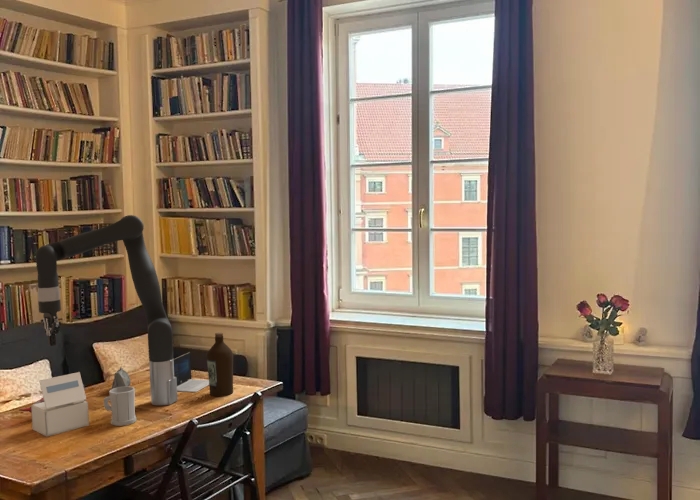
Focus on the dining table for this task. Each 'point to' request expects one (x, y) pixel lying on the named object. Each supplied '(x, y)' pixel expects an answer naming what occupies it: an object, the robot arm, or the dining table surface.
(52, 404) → the flap
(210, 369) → the brown bottle
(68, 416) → the carton
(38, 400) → the decorative bird figurine
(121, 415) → the cup
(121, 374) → the mineral rock
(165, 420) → the dining table surface
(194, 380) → the laptop
